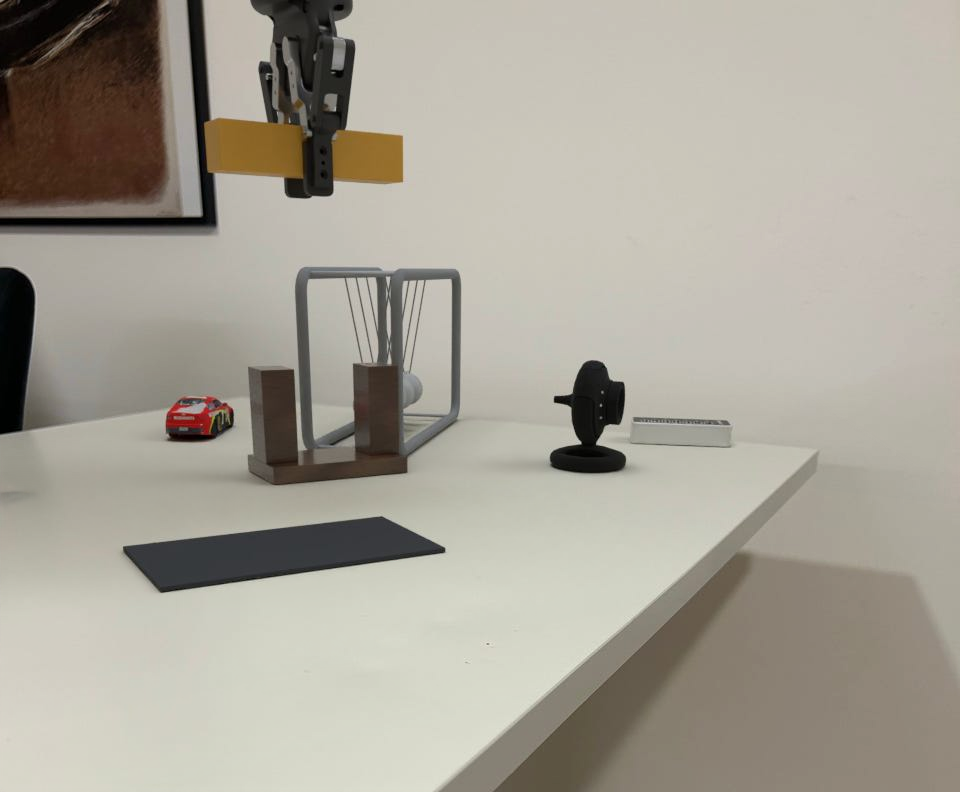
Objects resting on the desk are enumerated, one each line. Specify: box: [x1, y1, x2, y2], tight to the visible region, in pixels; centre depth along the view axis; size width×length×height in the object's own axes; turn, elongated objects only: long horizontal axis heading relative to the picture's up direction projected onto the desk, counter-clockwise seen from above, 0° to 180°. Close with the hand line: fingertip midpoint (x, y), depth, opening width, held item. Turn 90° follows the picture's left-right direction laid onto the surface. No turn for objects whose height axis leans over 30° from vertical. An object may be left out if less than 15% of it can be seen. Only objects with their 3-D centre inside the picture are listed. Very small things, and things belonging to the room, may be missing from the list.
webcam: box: [549, 359, 627, 473], centre depth 95 cm, size 8×8×10 cm
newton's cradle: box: [294, 266, 462, 456], centre depth 108 cm, size 30×10×18 cm, turn 170°
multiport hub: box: [629, 416, 733, 448], centre depth 110 cm, size 4×11×2 cm, turn 83°
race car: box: [165, 395, 235, 439], centre depth 110 cm, size 13×5×4 cm, turn 178°
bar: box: [203, 117, 404, 185], centre depth 76 cm, size 15×3×3 cm, turn 122°
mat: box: [122, 515, 446, 593], centre depth 66 cm, size 19×10×1 cm, turn 121°
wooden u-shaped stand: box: [247, 361, 408, 486], centre depth 90 cm, size 13×7×10 cm, turn 121°
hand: (309, 195), depth 77 cm, fingers closed on bar, 3 cm apart
